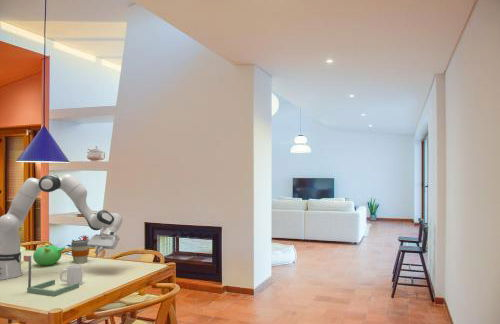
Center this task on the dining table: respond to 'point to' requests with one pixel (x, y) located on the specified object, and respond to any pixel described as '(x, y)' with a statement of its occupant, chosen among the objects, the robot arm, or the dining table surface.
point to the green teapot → (47, 254)
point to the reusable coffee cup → (80, 251)
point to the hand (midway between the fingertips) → (96, 253)
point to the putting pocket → (46, 284)
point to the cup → (73, 274)
